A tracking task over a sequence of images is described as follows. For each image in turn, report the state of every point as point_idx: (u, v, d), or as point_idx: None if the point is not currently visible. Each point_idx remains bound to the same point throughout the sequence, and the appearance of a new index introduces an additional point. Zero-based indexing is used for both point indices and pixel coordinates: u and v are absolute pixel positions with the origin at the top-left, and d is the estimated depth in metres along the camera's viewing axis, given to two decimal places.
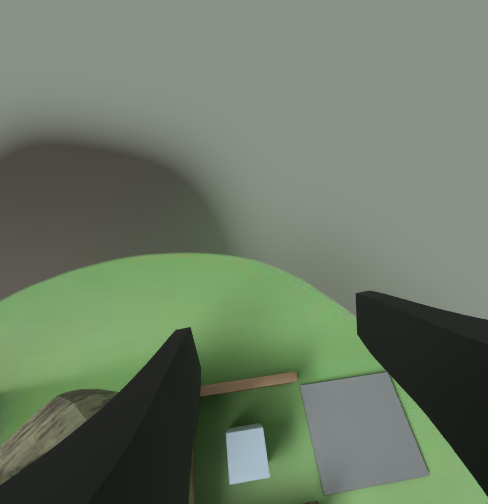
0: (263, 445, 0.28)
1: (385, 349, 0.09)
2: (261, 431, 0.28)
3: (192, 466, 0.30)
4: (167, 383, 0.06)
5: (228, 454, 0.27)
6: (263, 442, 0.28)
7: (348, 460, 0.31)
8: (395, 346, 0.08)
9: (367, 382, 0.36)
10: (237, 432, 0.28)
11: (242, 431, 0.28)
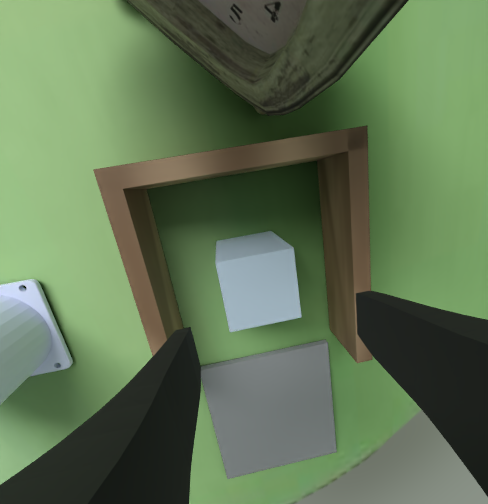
0: (274, 319, 0.14)
1: (385, 349, 0.09)
2: (295, 314, 0.15)
3: (222, 175, 0.16)
4: (167, 383, 0.06)
5: (260, 256, 0.13)
6: (278, 319, 0.14)
7: (238, 399, 0.22)
8: (395, 346, 0.08)
9: (325, 428, 0.24)
10: (294, 270, 0.14)
11: (295, 279, 0.14)
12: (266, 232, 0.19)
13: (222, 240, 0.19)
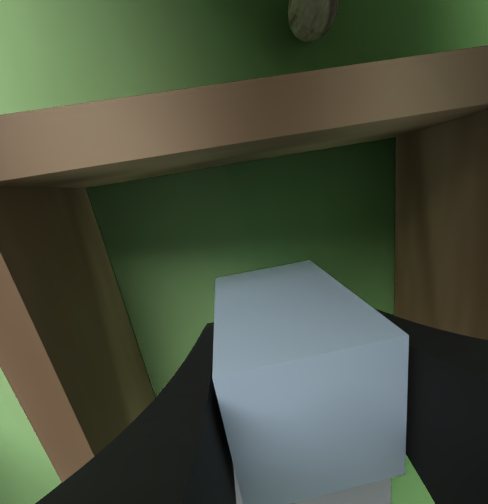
0: (345, 482, 0.06)
1: None
2: (391, 469, 0.06)
3: (227, 160, 0.08)
4: None
5: (326, 358, 0.05)
6: (355, 481, 0.06)
7: None
8: None
9: None
10: (403, 384, 0.06)
11: (401, 401, 0.06)
12: (303, 264, 0.11)
13: (226, 278, 0.11)
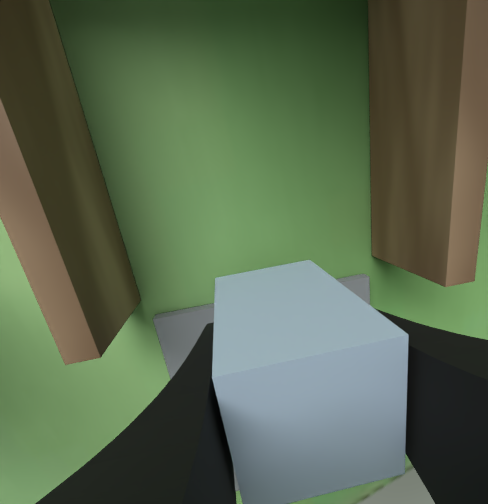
0: (345, 481, 0.06)
1: None
2: (391, 469, 0.06)
3: None
4: None
5: (326, 357, 0.05)
6: (355, 480, 0.06)
7: None
8: None
9: None
10: (402, 383, 0.06)
11: (400, 400, 0.06)
12: (303, 263, 0.11)
13: (226, 278, 0.11)
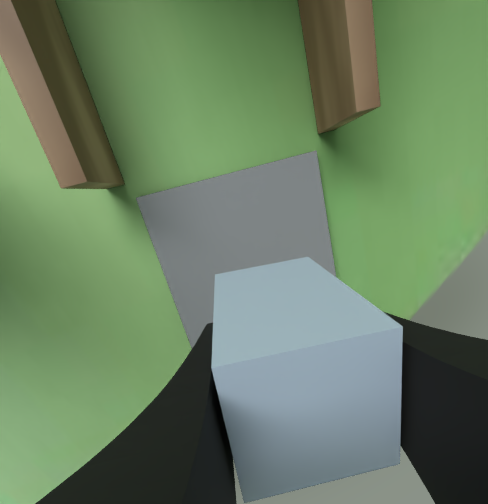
0: (342, 471, 0.07)
1: None
2: (386, 459, 0.07)
3: None
4: None
5: (322, 348, 0.05)
6: (351, 470, 0.07)
7: (198, 247, 0.16)
8: None
9: None
10: (397, 374, 0.06)
11: (395, 391, 0.06)
12: (301, 260, 0.11)
13: (225, 274, 0.11)
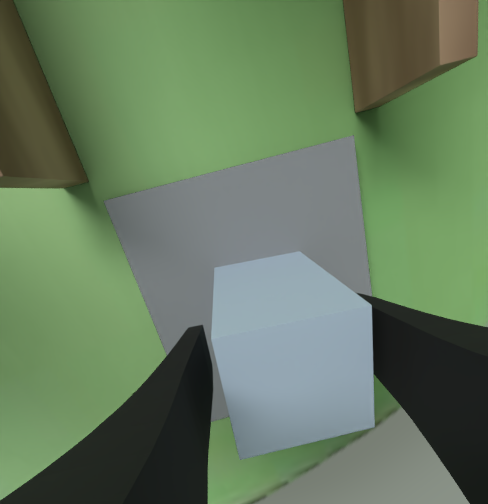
0: (324, 433, 0.08)
1: None
2: (362, 423, 0.08)
3: None
4: (186, 379, 0.06)
5: (304, 323, 0.06)
6: (332, 432, 0.08)
7: (191, 267, 0.12)
8: (381, 349, 0.08)
9: None
10: (369, 347, 0.07)
11: (368, 362, 0.07)
12: (293, 254, 0.12)
13: (224, 267, 0.12)
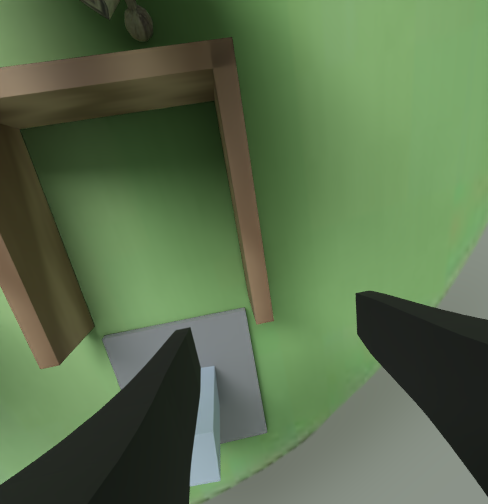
0: (195, 482, 0.16)
1: (385, 349, 0.09)
2: (214, 478, 0.16)
3: (93, 108, 0.14)
4: (167, 383, 0.06)
5: None
6: (199, 482, 0.16)
7: None
8: (395, 346, 0.08)
9: (252, 406, 0.23)
10: (214, 447, 0.16)
11: None
12: (209, 369, 0.21)
13: None
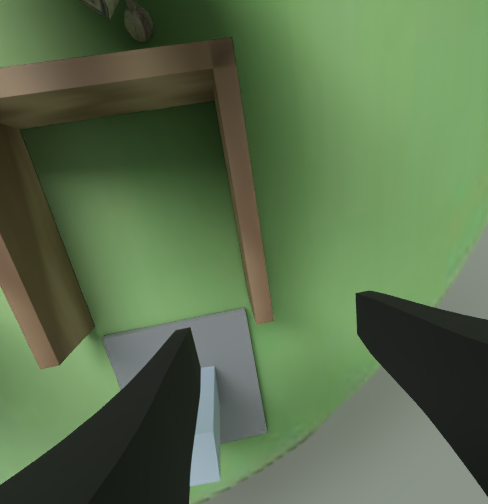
0: (195, 482, 0.16)
1: (385, 349, 0.09)
2: (214, 478, 0.16)
3: (93, 108, 0.14)
4: (167, 383, 0.06)
5: None
6: (199, 482, 0.16)
7: None
8: (395, 346, 0.08)
9: (252, 406, 0.23)
10: (214, 447, 0.16)
11: None
12: (209, 369, 0.21)
13: None
